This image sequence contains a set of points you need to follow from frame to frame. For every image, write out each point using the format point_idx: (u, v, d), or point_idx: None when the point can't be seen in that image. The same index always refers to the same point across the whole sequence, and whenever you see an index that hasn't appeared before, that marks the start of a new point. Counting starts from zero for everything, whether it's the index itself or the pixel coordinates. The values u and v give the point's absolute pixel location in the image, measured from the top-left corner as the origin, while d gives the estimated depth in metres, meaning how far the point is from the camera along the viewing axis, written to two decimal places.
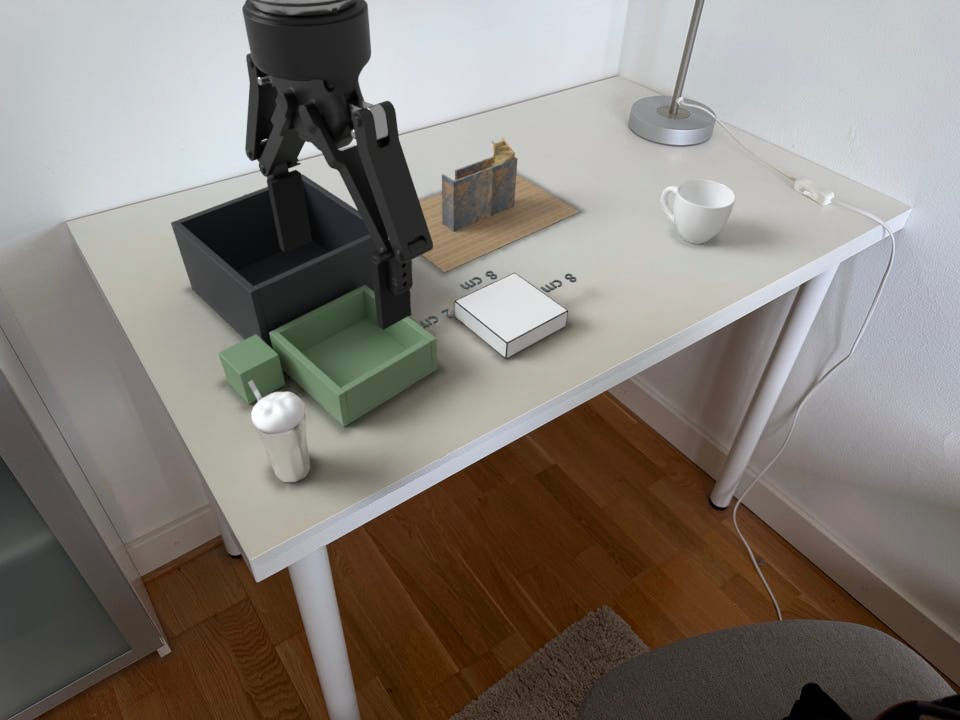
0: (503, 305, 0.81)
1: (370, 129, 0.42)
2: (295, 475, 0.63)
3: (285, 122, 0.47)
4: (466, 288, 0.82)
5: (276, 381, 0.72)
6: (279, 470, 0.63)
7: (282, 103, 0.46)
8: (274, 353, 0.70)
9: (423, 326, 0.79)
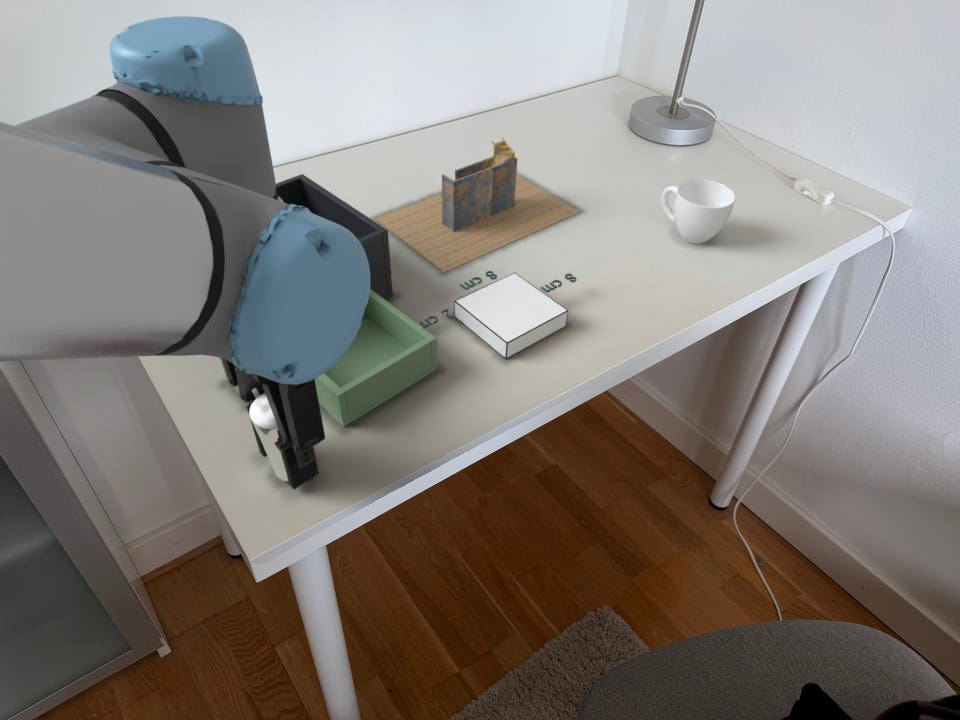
0: (503, 305, 0.81)
1: (293, 384, 0.51)
2: None
3: None
4: (466, 288, 0.82)
5: None
6: (278, 468, 0.63)
7: None
8: None
9: (424, 326, 0.79)
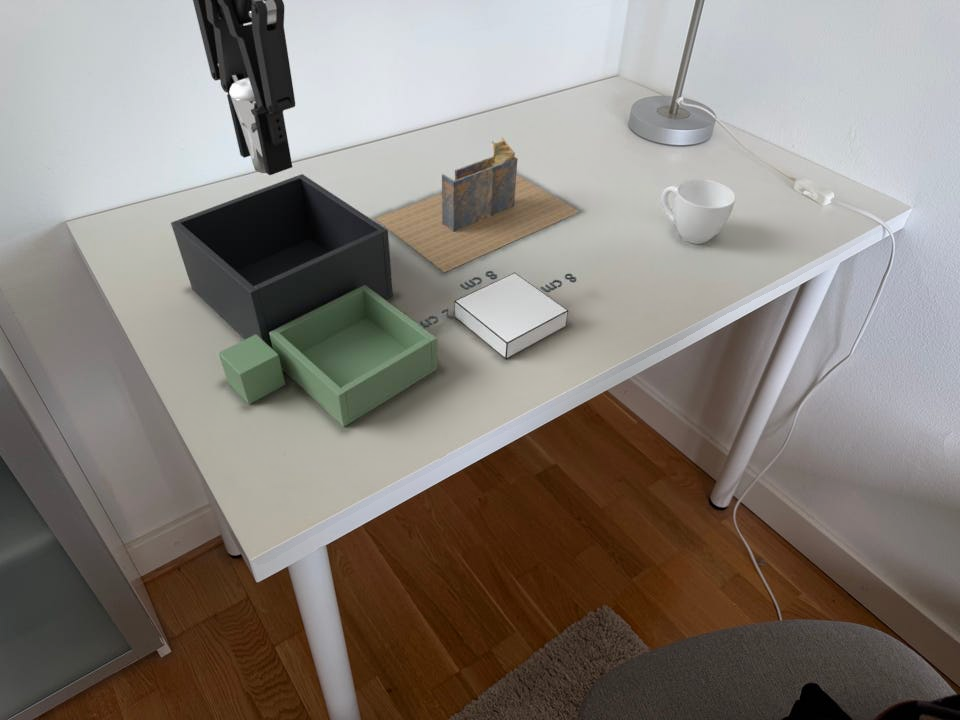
0: (503, 305, 0.81)
1: (263, 18, 0.58)
2: None
3: (212, 7, 0.62)
4: (466, 288, 0.82)
5: (276, 381, 0.72)
6: (256, 156, 0.70)
7: None
8: (274, 353, 0.70)
9: (423, 326, 0.79)
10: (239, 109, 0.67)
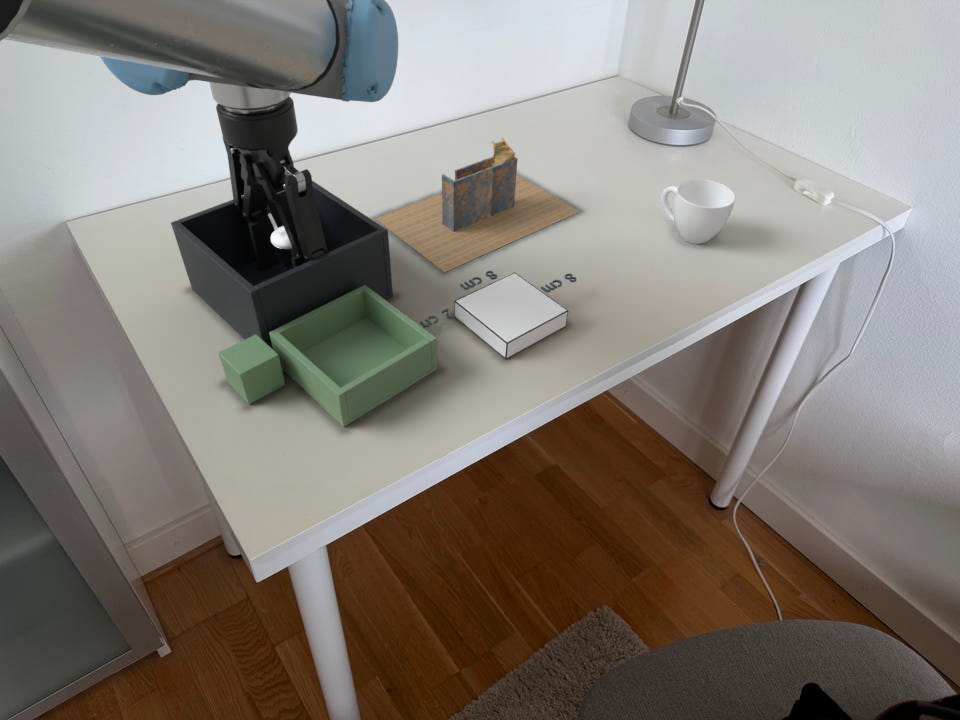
0: (503, 305, 0.81)
1: (295, 188, 0.69)
2: None
3: (248, 174, 0.74)
4: (466, 288, 0.82)
5: (276, 381, 0.72)
6: None
7: (243, 161, 0.73)
8: (274, 353, 0.70)
9: (424, 326, 0.79)
10: (279, 254, 0.77)
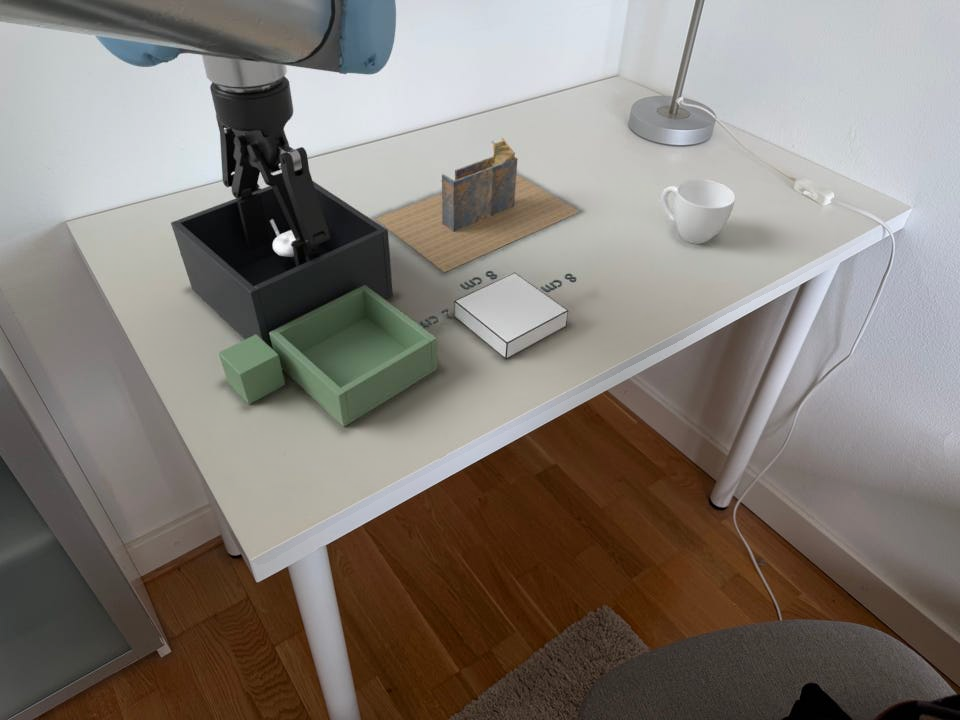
0: (503, 305, 0.81)
1: (290, 165, 0.67)
2: None
3: (241, 156, 0.73)
4: (466, 288, 0.82)
5: (276, 381, 0.72)
6: None
7: (237, 143, 0.71)
8: (274, 353, 0.70)
9: (423, 326, 0.79)
10: (281, 261, 0.77)
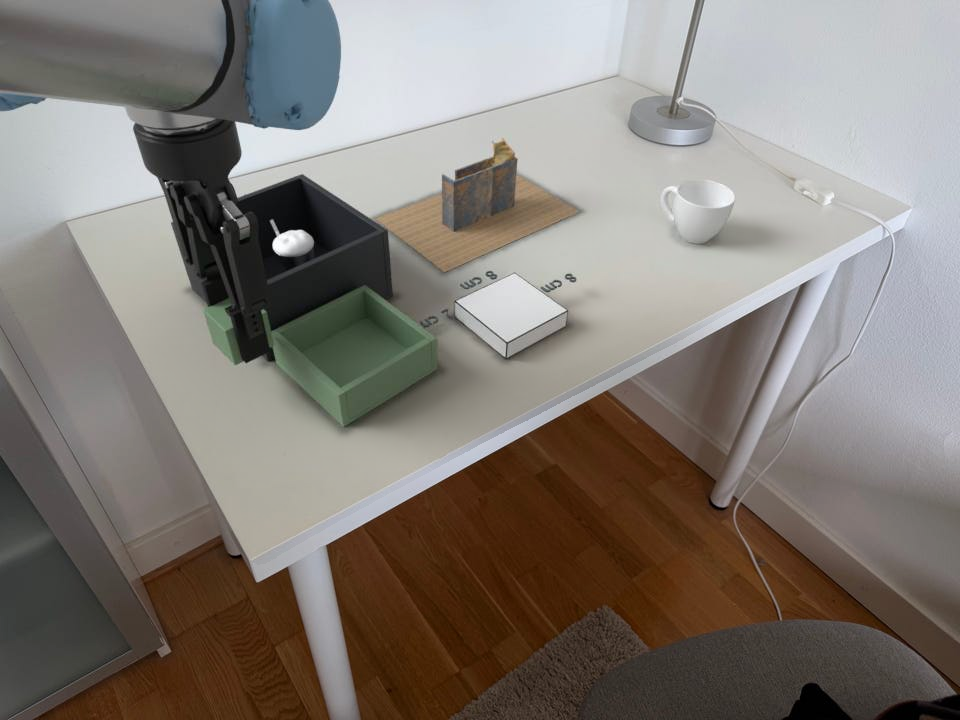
0: (503, 305, 0.81)
1: (235, 236, 0.55)
2: None
3: (183, 211, 0.58)
4: (466, 288, 0.82)
5: None
6: None
7: (173, 193, 0.57)
8: (262, 310, 0.66)
9: (423, 326, 0.79)
10: (281, 261, 0.77)
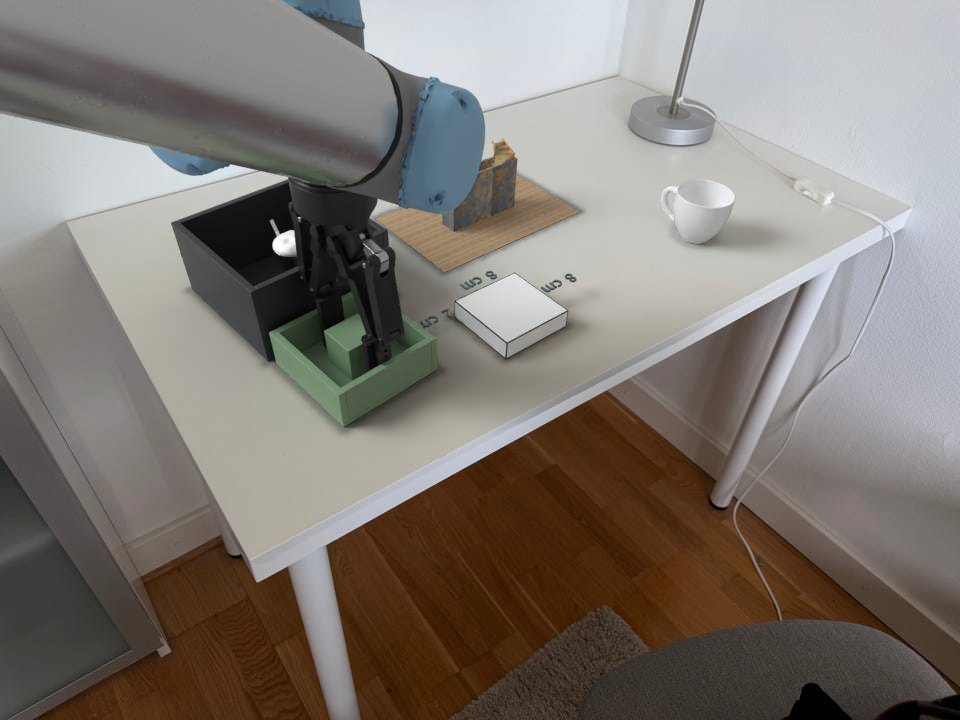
0: (503, 305, 0.81)
1: (377, 269, 0.60)
2: None
3: (318, 246, 0.65)
4: (466, 288, 0.82)
5: None
6: None
7: (314, 232, 0.63)
8: None
9: (424, 326, 0.79)
10: (281, 261, 0.77)
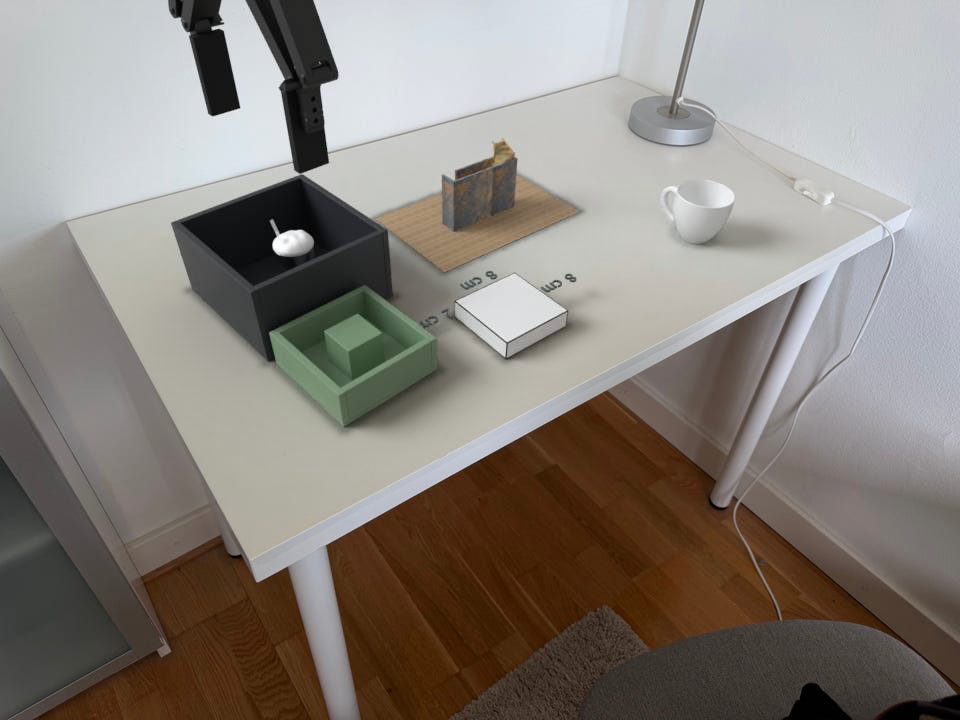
0: (503, 305, 0.81)
1: None
2: None
3: None
4: (466, 288, 0.82)
5: (378, 359, 0.74)
6: None
7: None
8: (378, 331, 0.73)
9: (423, 326, 0.79)
10: (281, 261, 0.77)
